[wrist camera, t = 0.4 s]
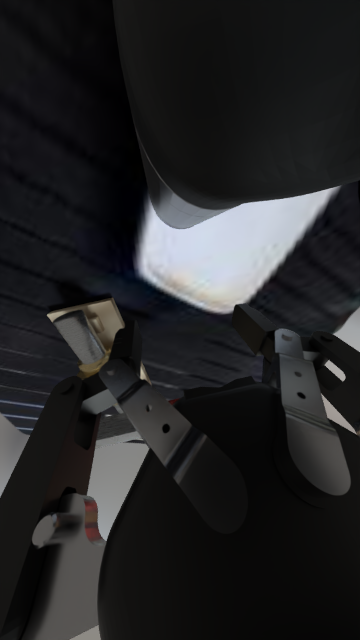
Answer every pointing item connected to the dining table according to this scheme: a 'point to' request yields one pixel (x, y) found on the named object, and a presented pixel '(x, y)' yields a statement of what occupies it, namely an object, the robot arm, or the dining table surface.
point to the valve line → (84, 343)
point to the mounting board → (101, 322)
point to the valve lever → (117, 429)
